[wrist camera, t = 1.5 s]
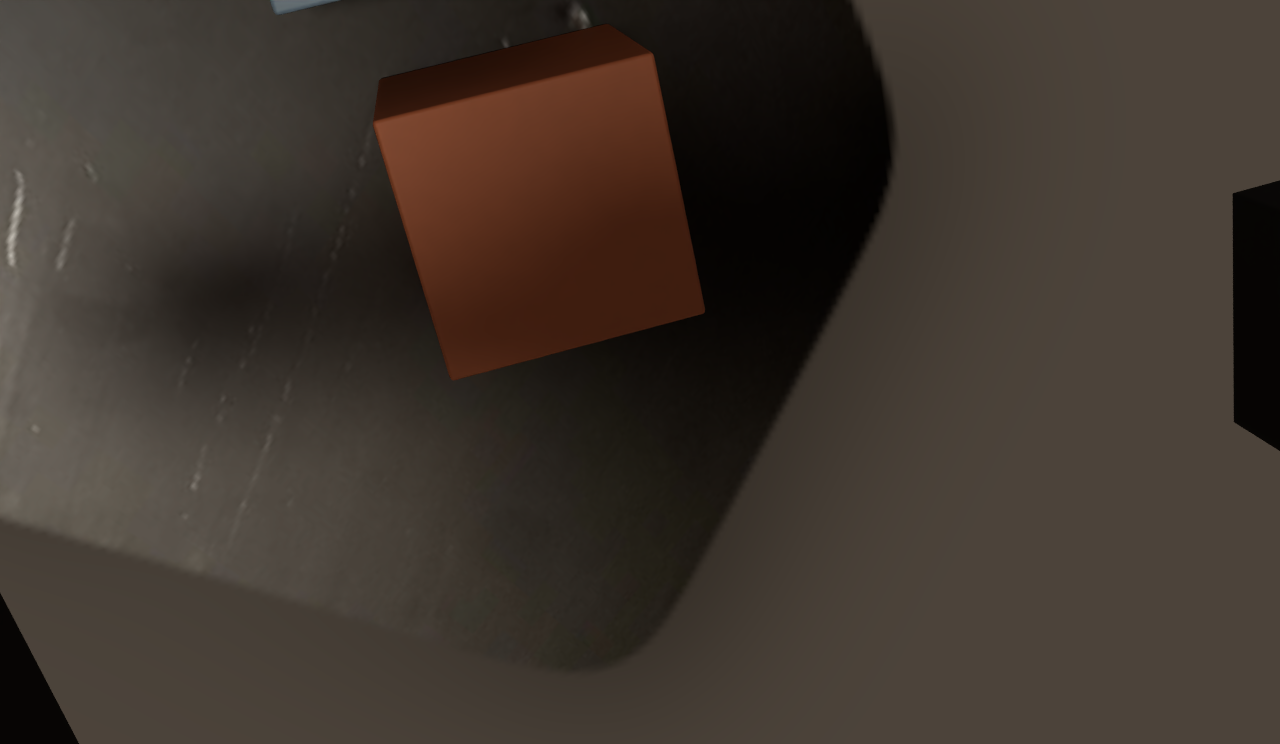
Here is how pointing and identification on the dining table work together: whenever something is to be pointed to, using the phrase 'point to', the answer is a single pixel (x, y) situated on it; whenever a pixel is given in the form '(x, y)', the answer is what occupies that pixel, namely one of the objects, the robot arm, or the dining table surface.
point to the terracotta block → (539, 197)
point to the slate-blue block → (296, 5)
